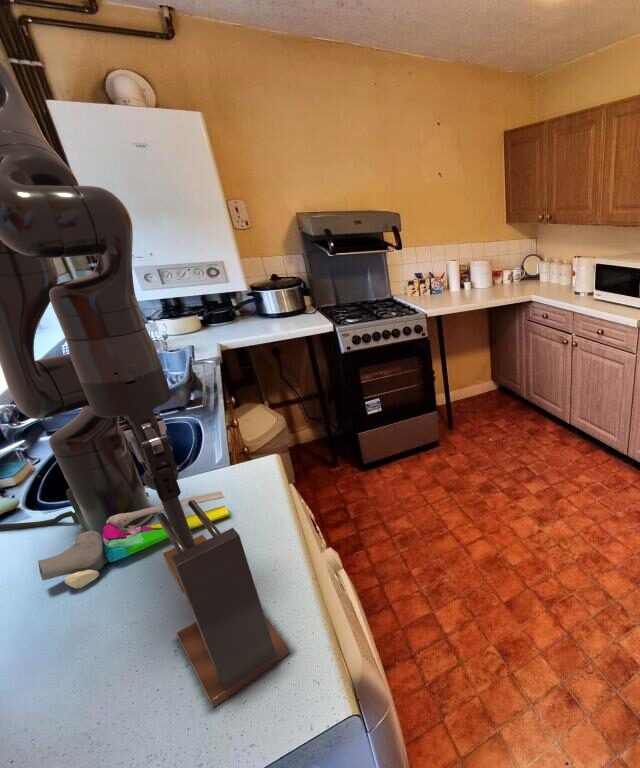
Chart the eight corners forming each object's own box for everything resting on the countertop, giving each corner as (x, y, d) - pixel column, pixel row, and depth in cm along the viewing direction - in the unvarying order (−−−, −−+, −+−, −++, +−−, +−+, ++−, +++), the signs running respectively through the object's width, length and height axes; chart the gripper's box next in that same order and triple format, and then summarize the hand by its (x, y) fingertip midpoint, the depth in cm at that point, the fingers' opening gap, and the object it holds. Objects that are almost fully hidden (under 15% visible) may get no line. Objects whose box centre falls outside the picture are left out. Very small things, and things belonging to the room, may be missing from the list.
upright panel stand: (178, 637, 60) (127, 516, 53) (248, 596, 67) (211, 482, 59) (213, 708, 51) (158, 574, 44) (290, 653, 58) (253, 528, 50)
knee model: (232, 540, 85) (48, 609, 67) (218, 510, 89) (40, 567, 70) (235, 511, 81) (38, 576, 62) (220, 480, 84) (29, 532, 66)
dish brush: (168, 569, 63) (126, 463, 57) (208, 550, 67) (172, 448, 60) (183, 594, 59) (138, 482, 52) (224, 572, 62) (187, 465, 56)
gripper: (70, 366, 53) (119, 485, 60) (88, 393, 45) (144, 529, 51) (146, 351, 59) (184, 462, 65) (176, 373, 50) (216, 498, 56)
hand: (166, 491), depth 58 cm, fingers closed on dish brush, 3 cm apart
